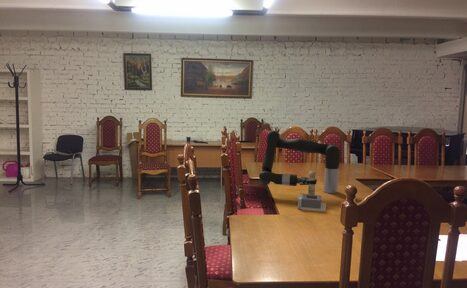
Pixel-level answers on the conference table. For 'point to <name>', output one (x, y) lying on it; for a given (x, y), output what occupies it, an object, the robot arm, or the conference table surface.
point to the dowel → (311, 186)
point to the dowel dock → (311, 202)
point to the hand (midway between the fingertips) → (316, 181)
